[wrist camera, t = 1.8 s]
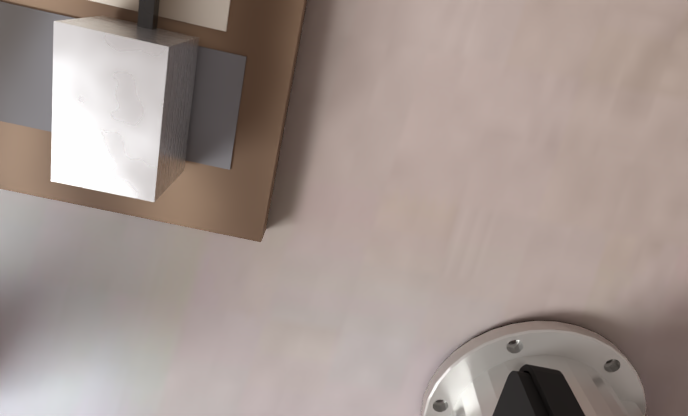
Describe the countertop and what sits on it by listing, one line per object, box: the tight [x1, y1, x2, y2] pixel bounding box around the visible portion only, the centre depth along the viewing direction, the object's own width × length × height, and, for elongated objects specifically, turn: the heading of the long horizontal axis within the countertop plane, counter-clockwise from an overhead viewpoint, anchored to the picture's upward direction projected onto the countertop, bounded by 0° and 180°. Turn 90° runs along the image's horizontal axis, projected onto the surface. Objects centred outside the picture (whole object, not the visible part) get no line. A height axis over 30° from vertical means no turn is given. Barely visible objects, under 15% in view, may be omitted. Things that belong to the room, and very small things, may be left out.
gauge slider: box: [51, 0, 199, 202], centre depth 21 cm, size 4×9×4 cm, turn 168°
